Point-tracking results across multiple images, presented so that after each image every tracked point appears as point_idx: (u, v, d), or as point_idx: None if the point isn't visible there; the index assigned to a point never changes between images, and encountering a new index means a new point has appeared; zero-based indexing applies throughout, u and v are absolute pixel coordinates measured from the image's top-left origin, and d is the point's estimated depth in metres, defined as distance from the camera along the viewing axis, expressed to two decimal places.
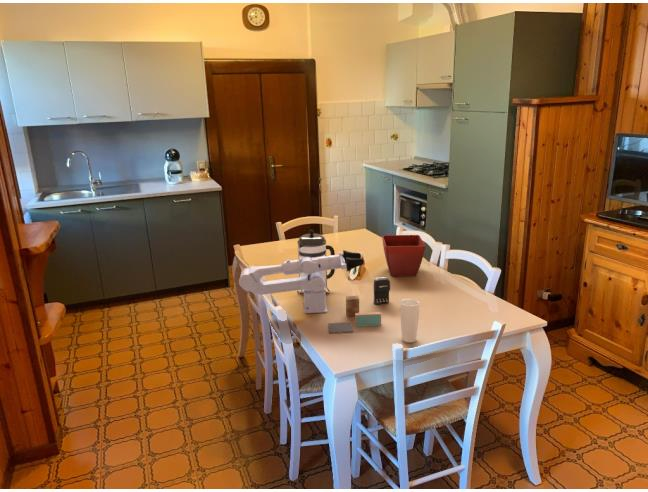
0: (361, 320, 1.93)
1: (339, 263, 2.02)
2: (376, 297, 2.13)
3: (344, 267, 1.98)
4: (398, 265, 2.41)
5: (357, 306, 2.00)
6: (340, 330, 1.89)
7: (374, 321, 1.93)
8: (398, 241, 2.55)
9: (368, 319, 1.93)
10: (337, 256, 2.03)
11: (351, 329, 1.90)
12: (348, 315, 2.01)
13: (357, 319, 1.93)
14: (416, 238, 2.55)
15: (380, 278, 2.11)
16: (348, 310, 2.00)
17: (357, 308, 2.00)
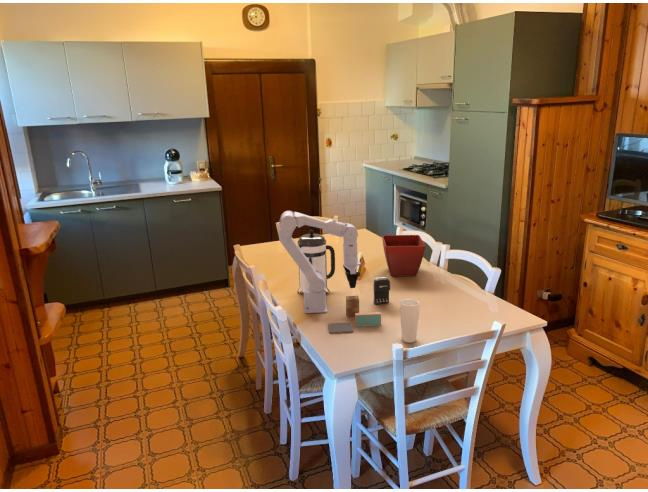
0: (361, 320, 1.93)
1: (351, 264, 2.02)
2: (376, 297, 2.13)
3: (352, 272, 1.99)
4: (398, 265, 2.41)
5: (357, 306, 2.00)
6: (340, 330, 1.89)
7: (374, 321, 1.93)
8: (398, 241, 2.55)
9: (368, 319, 1.93)
10: (357, 262, 2.04)
11: (351, 329, 1.90)
12: (348, 315, 2.01)
13: (357, 319, 1.93)
14: (416, 238, 2.55)
15: (380, 278, 2.11)
16: (348, 310, 2.00)
17: (357, 308, 2.00)
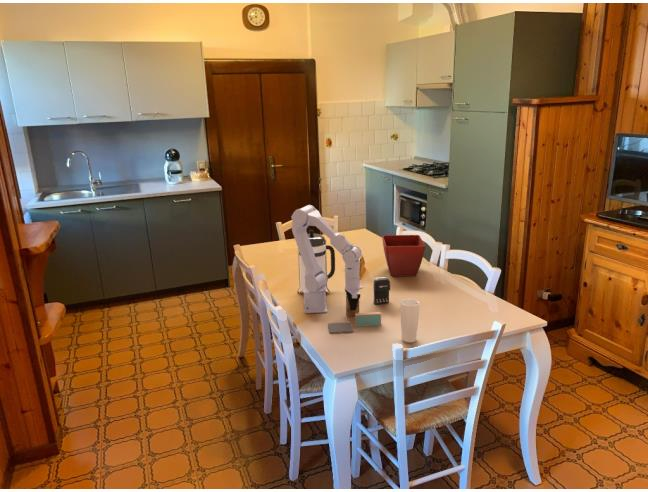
0: (361, 320, 1.93)
1: (353, 288, 1.97)
2: (376, 297, 2.13)
3: (354, 296, 1.93)
4: (398, 265, 2.41)
5: (357, 306, 2.00)
6: (340, 330, 1.89)
7: (374, 321, 1.93)
8: (398, 241, 2.55)
9: (368, 319, 1.93)
10: (359, 285, 1.98)
11: (351, 329, 1.90)
12: (348, 315, 2.01)
13: (357, 319, 1.93)
14: (416, 238, 2.55)
15: (380, 278, 2.11)
16: (348, 310, 2.00)
17: (357, 308, 2.00)
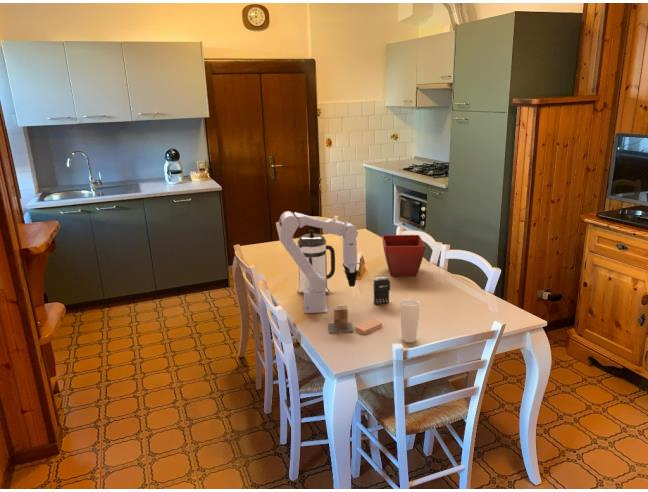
0: None
1: (351, 263, 2.04)
2: (376, 297, 2.13)
3: (351, 270, 2.00)
4: (398, 265, 2.41)
5: (345, 317, 1.89)
6: (340, 330, 1.89)
7: None
8: (398, 241, 2.55)
9: None
10: (356, 260, 2.06)
11: (351, 329, 1.90)
12: (336, 326, 1.90)
13: None
14: (416, 238, 2.55)
15: (380, 278, 2.11)
16: (336, 321, 1.89)
17: (345, 319, 1.89)
